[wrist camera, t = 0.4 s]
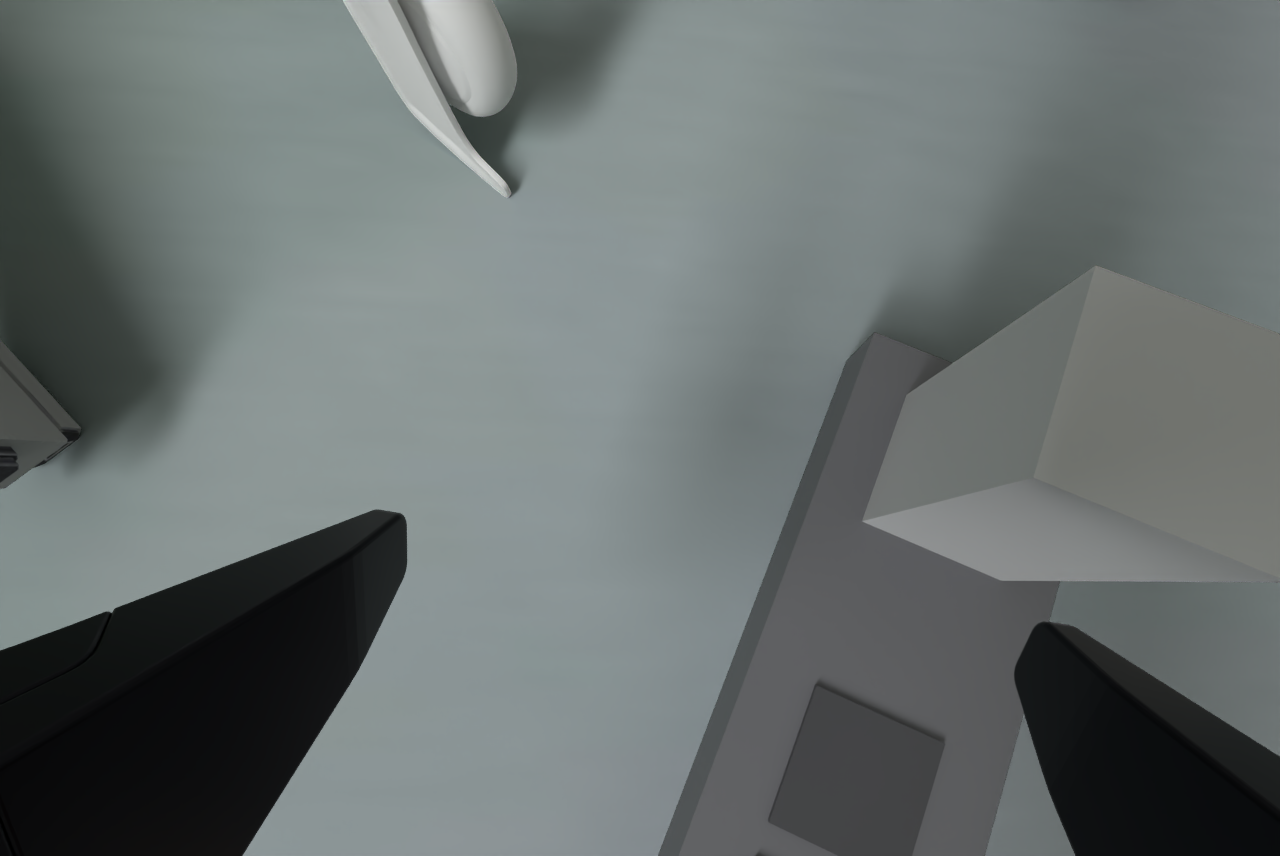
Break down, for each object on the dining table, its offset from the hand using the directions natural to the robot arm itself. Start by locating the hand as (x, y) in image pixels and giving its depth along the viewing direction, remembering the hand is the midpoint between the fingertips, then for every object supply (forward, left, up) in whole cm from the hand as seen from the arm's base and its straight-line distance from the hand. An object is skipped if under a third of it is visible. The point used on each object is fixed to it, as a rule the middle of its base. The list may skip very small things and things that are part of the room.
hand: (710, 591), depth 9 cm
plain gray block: (-1, -10, -14) cm, 17 cm away
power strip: (-6, -3, -14) cm, 16 cm away
